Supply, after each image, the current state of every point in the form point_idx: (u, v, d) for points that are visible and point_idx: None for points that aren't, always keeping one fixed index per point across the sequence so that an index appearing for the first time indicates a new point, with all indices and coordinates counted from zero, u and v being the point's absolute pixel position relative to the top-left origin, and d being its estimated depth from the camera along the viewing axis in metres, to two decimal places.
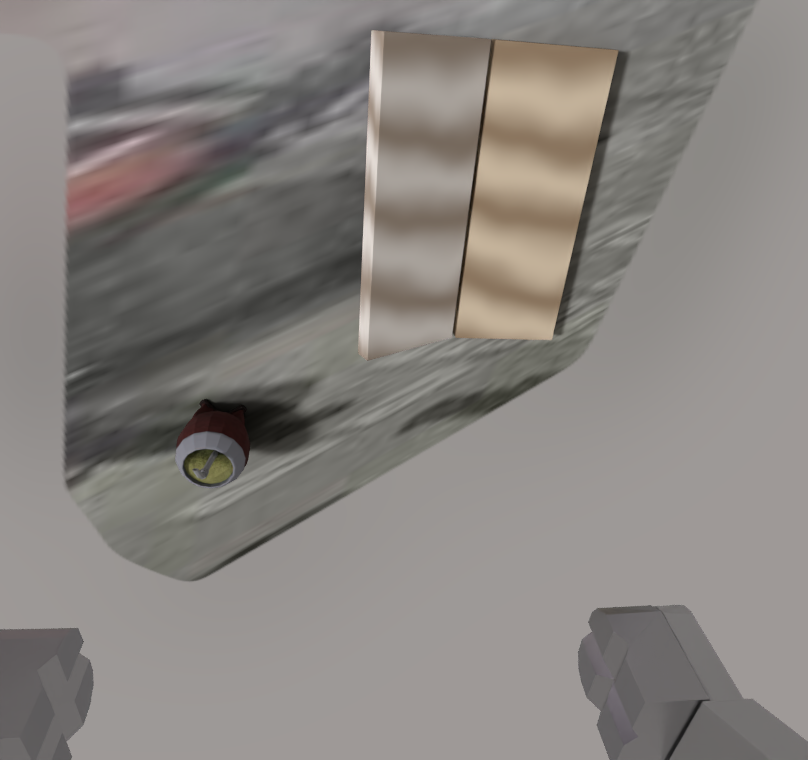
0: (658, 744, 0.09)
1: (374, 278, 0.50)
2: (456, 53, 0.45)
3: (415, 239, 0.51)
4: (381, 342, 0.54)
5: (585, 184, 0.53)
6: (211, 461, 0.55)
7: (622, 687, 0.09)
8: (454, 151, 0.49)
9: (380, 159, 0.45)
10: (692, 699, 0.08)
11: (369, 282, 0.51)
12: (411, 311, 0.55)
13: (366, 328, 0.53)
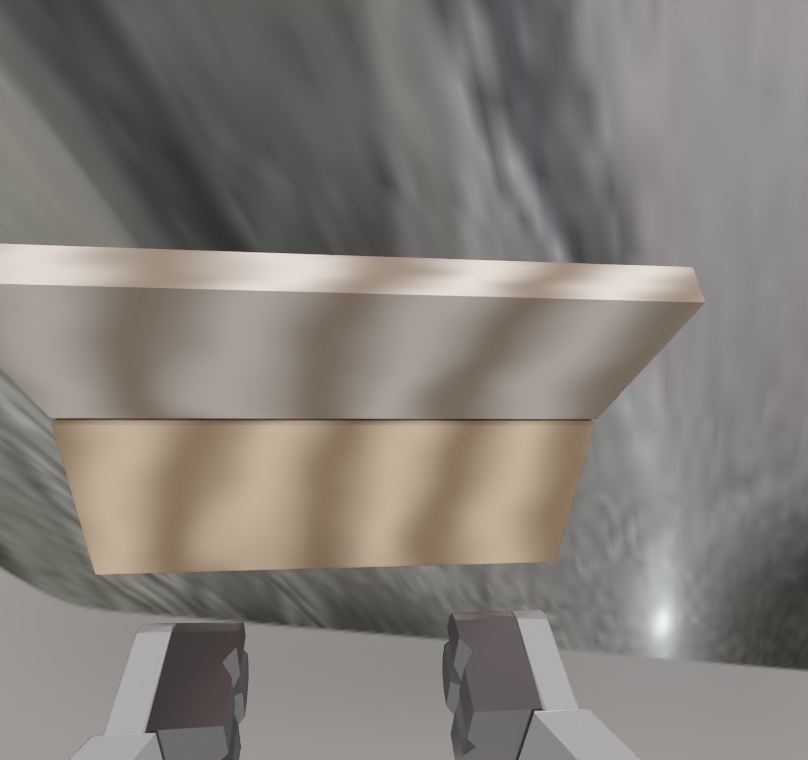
0: (500, 754, 0.09)
1: (185, 293, 0.20)
2: (602, 388, 0.27)
3: (282, 357, 0.23)
4: None
5: (380, 564, 0.34)
6: None
7: (462, 695, 0.09)
8: (445, 396, 0.27)
9: (474, 300, 0.21)
10: (524, 708, 0.08)
11: (170, 279, 0.19)
12: (103, 358, 0.23)
13: (27, 273, 0.19)
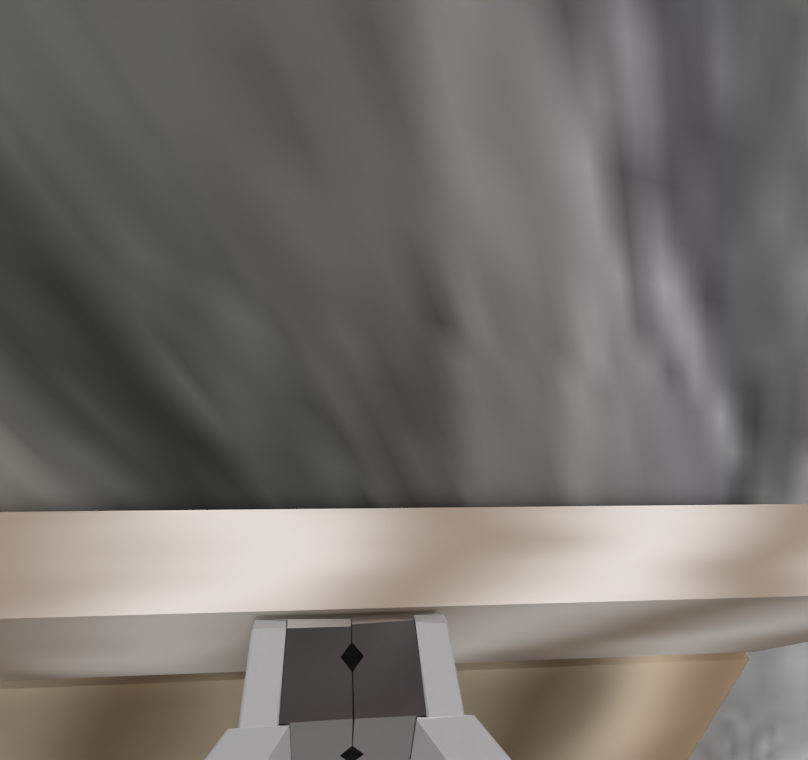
0: None
1: (26, 619, 0.09)
2: (792, 639, 0.16)
3: None
4: None
5: None
6: None
7: None
8: (529, 652, 0.16)
9: (638, 604, 0.10)
10: (408, 715, 0.08)
11: None
12: None
13: None
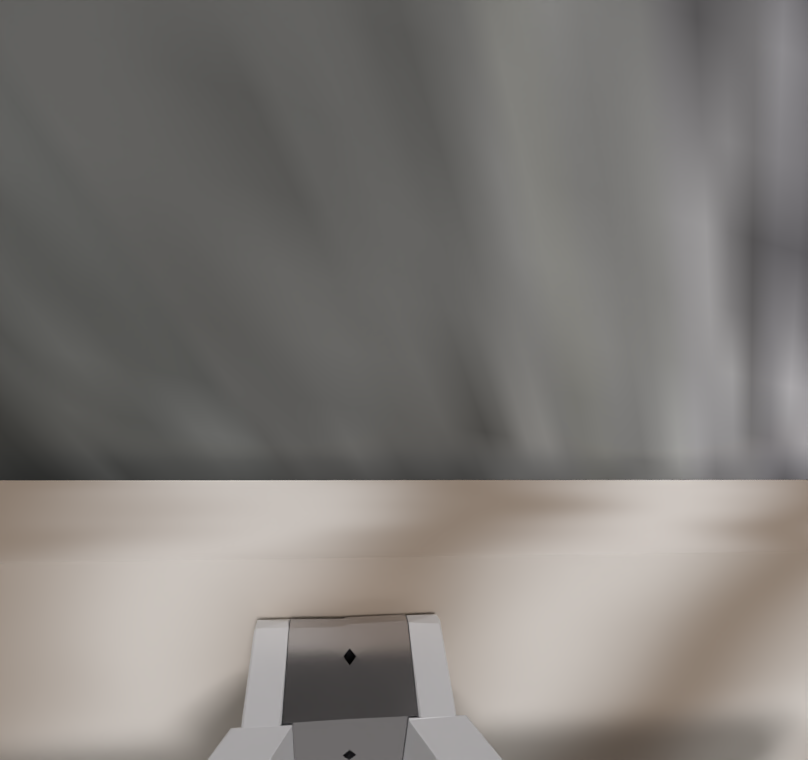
0: None
1: (13, 575, 0.08)
2: None
3: None
4: None
5: None
6: None
7: None
8: None
9: (676, 564, 0.09)
10: (400, 715, 0.08)
11: None
12: None
13: None
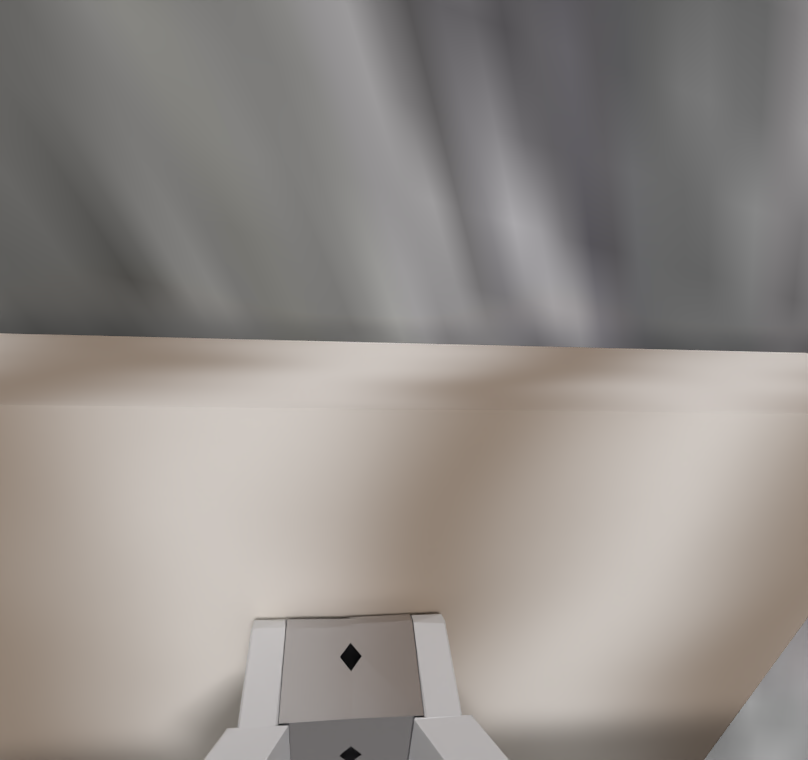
0: None
1: None
2: (707, 688, 0.12)
3: None
4: None
5: None
6: None
7: None
8: None
9: (330, 425, 0.07)
10: (406, 715, 0.08)
11: None
12: None
13: None
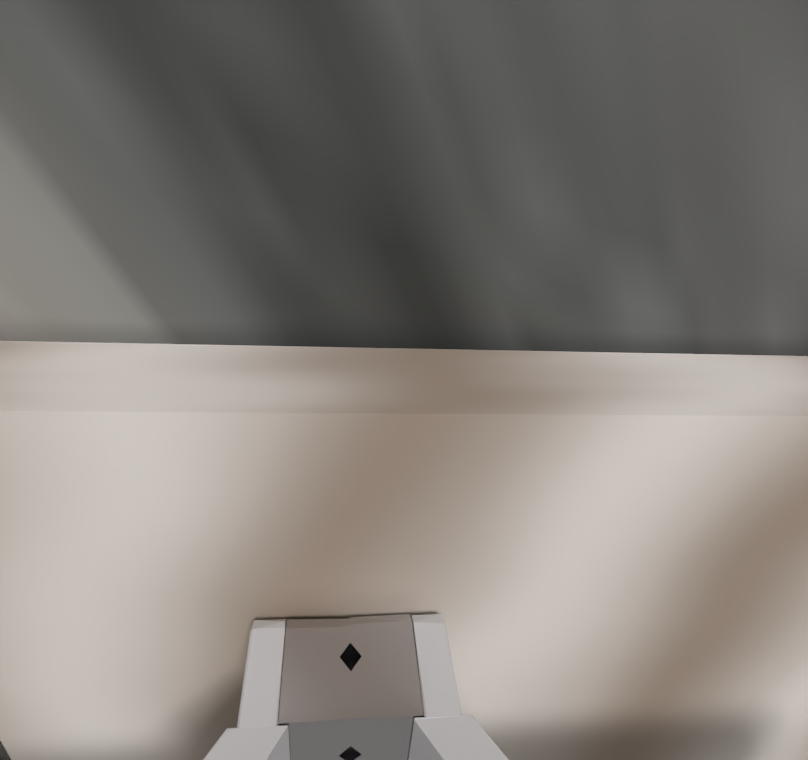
0: None
1: (506, 432, 0.08)
2: None
3: (630, 619, 0.10)
4: (2, 503, 0.08)
5: None
6: None
7: None
8: None
9: None
10: (405, 715, 0.08)
11: (471, 397, 0.08)
12: (223, 643, 0.09)
13: (118, 391, 0.07)
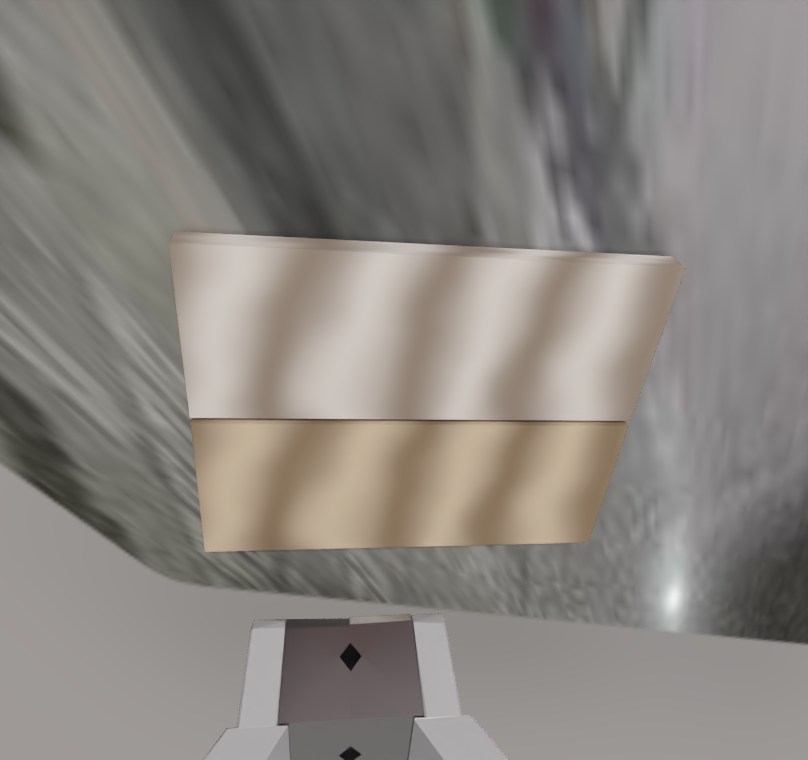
0: None
1: (340, 257, 0.29)
2: (630, 374, 0.35)
3: (391, 332, 0.31)
4: (206, 273, 0.29)
5: (443, 543, 0.40)
6: None
7: None
8: (509, 385, 0.34)
9: (531, 264, 0.30)
10: (405, 715, 0.08)
11: (331, 248, 0.29)
12: (260, 332, 0.31)
13: (238, 243, 0.28)
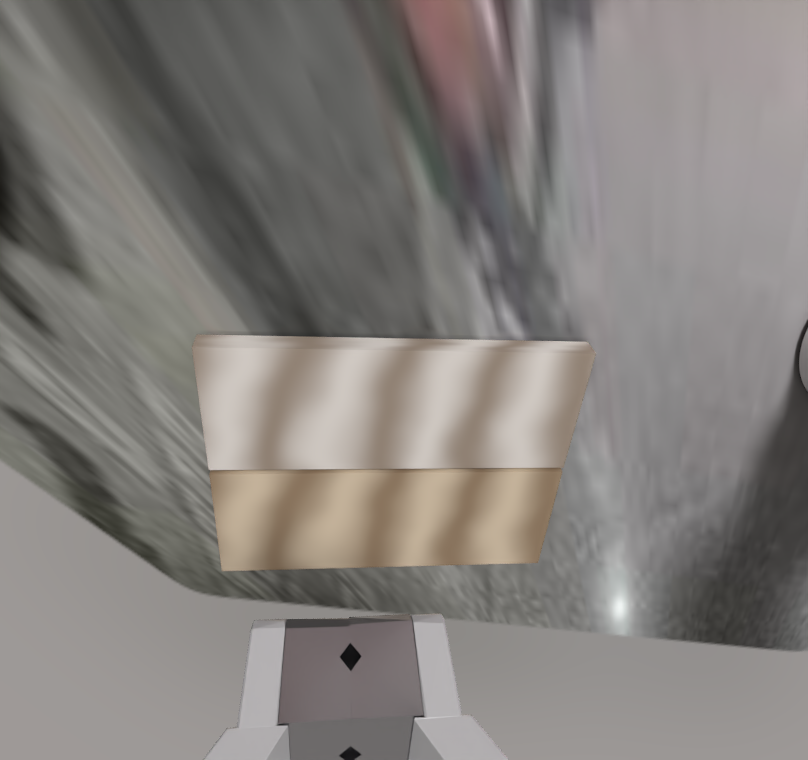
0: None
1: (321, 353, 0.38)
2: (559, 432, 0.43)
3: (364, 405, 0.40)
4: (220, 367, 0.38)
5: (415, 564, 0.49)
6: None
7: None
8: (461, 442, 0.43)
9: (471, 355, 0.39)
10: (405, 715, 0.08)
11: (314, 346, 0.38)
12: (262, 407, 0.40)
13: (244, 344, 0.37)
